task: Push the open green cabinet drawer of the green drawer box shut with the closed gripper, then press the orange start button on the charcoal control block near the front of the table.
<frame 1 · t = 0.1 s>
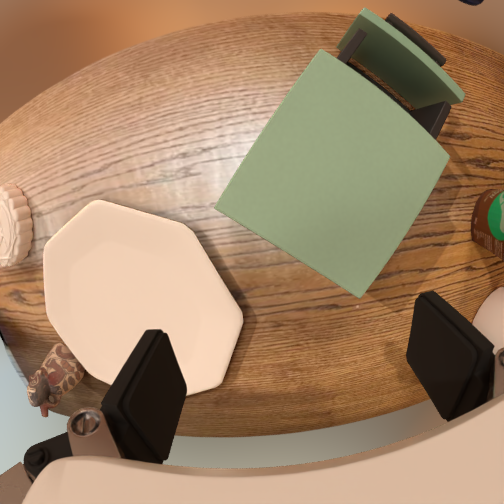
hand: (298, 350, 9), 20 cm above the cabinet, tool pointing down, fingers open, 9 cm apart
green cabinet drawer: (384, 89, 19), point 5 cm above the cabinet, slide at 6.0 cm
green drawer box: (319, 172, 26), on the cabinet
plate: (129, 314, 32), on the cabinet
figurine: (69, 360, 35), on the cabinet
can: (491, 318, 31), on the cabinet
food container: (486, 204, 26), on the cabinet
mooncake: (12, 222, 28), on the cabinet
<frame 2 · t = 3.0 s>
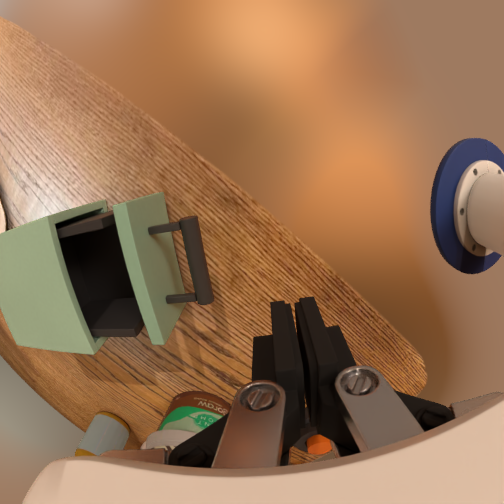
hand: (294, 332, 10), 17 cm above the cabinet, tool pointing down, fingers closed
green cabinet drawer: (121, 267, 23), point 5 cm above the cabinet, slide at 6.0 cm
bottle: (114, 421, 37), on the cabinet
start button: (319, 443, 30), point 4 cm above the cabinet, slide at 0.1 cm
green drawer box: (75, 262, 28), on the cabinet
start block: (316, 421, 34), on the cabinet
food container: (206, 400, 34), on the cabinet
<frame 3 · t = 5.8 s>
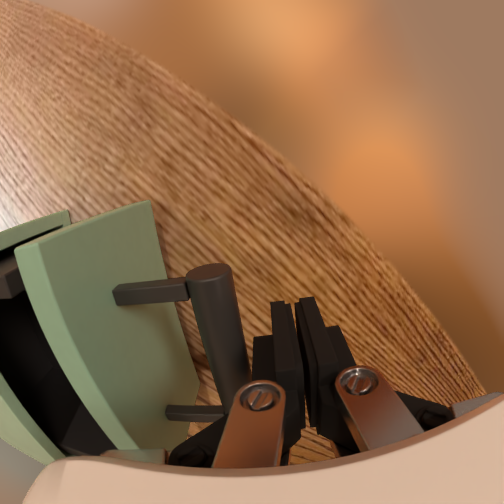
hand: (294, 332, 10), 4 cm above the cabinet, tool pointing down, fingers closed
green cabinet drawer: (78, 347, 11), point 5 cm above the cabinet, slide at 4.9 cm, touching gripper
green drawer box: (35, 306, 16), on the cabinet
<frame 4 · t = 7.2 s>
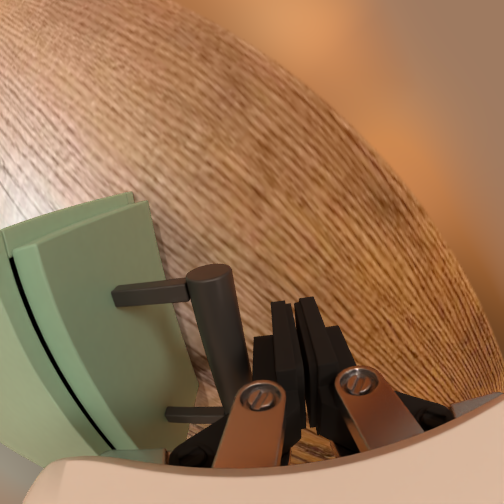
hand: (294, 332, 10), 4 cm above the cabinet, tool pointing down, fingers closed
green cabinet drawer: (77, 349, 10), point 5 cm above the cabinet, slide at 0.0 cm, touching green drawer box, gripper
green drawer box: (73, 307, 15), on the cabinet
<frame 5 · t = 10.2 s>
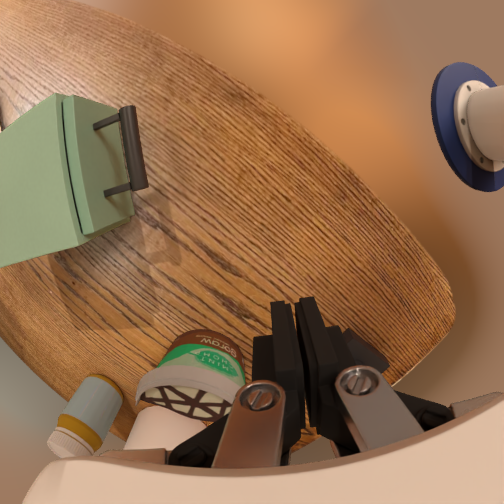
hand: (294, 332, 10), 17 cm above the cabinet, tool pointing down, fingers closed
green cabinet drawer: (70, 173, 20), point 5 cm above the cabinet, slide at 0.0 cm, touching green drawer box
bottle: (105, 387, 35), on the cabinet
green drawer box: (72, 180, 25), on the cabinet
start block: (339, 368, 32), on the cabinet
can: (174, 426, 37), on the cabinet
food container: (211, 342, 31), on the cabinet
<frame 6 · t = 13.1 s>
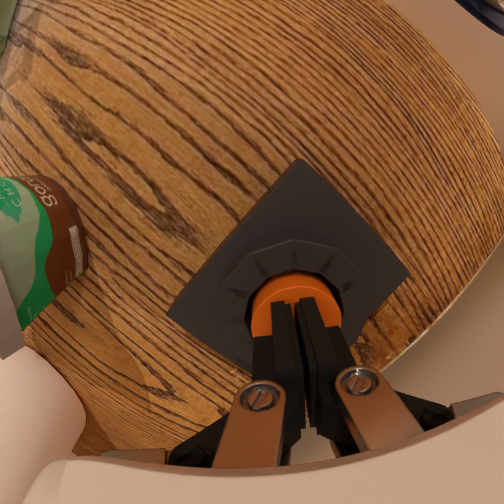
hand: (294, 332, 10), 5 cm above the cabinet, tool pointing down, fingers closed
start button: (295, 316, 11), point 4 cm above the cabinet, slide at -0.4 cm, touching gripper
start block: (287, 279, 15), on the cabinet
can: (43, 384, 20), on the cabinet
food container: (44, 203, 14), on the cabinet
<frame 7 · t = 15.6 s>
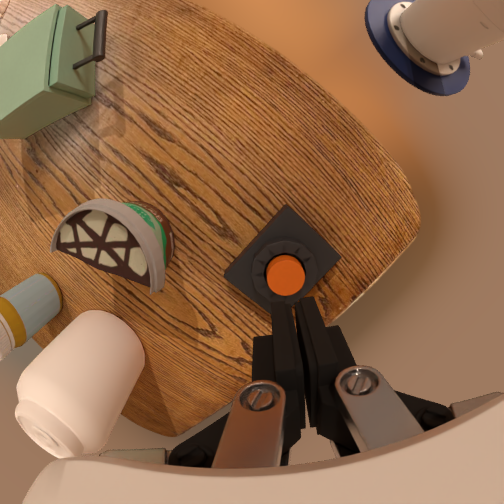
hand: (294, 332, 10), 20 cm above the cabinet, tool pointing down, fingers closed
green cabinet drawer: (53, 63, 19), point 5 cm above the cabinet, slide at 0.0 cm, touching green drawer box
bottle: (49, 291, 33), on the cabinet
start button: (285, 275, 26), point 4 cm above the cabinet, slide at 0.1 cm
green drawer box: (54, 83, 24), on the cabinet
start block: (281, 260, 31), on the cabinet
can: (109, 343, 35), on the cabinet
food container: (143, 218, 30), on the cabinet
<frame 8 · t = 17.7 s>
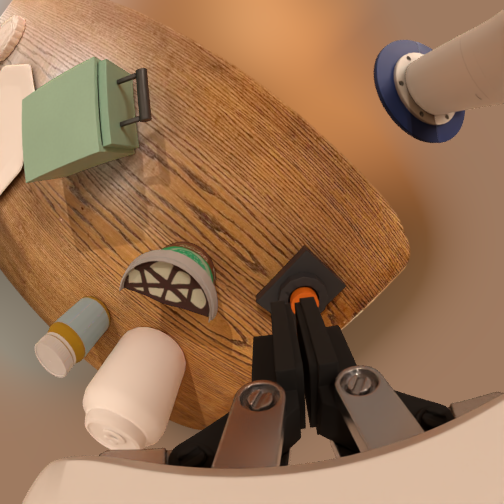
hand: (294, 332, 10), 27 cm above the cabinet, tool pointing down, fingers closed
green cabinet drawer: (95, 114, 28), point 5 cm above the cabinet, slide at 0.0 cm, touching green drawer box
bottle: (96, 311, 42), on the cabinet
start button: (304, 302, 35), point 4 cm above the cabinet, slide at 0.1 cm
green drawer box: (92, 126, 33), on the cabinet
plate: (0, 129, 32), on the cabinet
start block: (299, 287, 39), on the cabinet
can: (153, 353, 44), on the cabinet
food container: (188, 255, 38), on the cabinet
mooncake: (10, 40, 25), on the cabinet
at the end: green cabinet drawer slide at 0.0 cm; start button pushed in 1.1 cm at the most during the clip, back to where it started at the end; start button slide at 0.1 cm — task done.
